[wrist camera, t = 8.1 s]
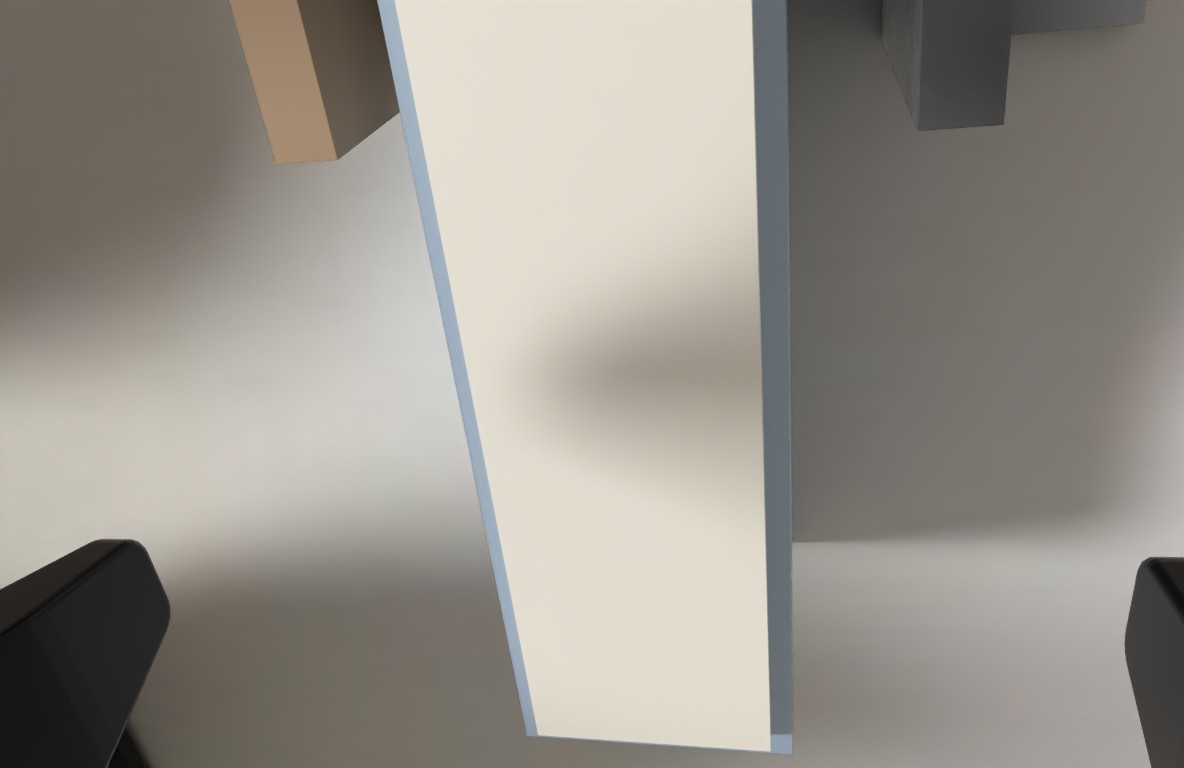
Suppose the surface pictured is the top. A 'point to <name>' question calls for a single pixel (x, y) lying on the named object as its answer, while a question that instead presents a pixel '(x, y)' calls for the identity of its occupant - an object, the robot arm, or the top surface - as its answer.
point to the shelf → (317, 73)
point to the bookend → (975, 50)
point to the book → (619, 345)
